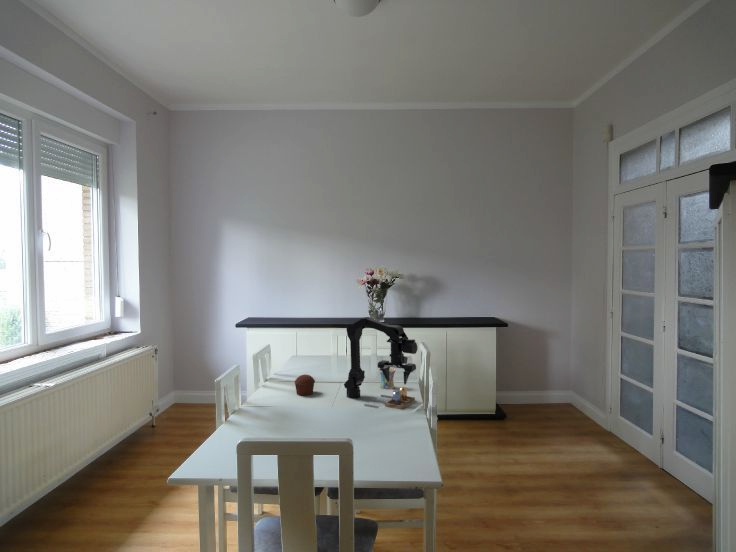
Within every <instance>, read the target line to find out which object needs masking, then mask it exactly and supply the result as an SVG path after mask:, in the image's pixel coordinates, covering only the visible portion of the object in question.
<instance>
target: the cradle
mask: <svg viewBox="0 0 736 552" xmlns="http://www.w3.org/2000/svg"><path fill="white" fill-rule="evenodd" d="M391 399H393V395H387V394H380V396H379V397H377V398H372V400H371V401H370V402H368V403H364V404H363V406H364V407H368V408H373V409H378V408H379V407H381V406H383V405H385V403H386V402H388V401H390V400H391Z"/></svg>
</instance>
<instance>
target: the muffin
mask: <svg viewBox="0 0 736 552" xmlns="http://www.w3.org/2000/svg"><path fill="white" fill-rule="evenodd" d="M315 383H316V380H315V378H314V377H313V376H311V375H310V374H302V375H301V374H300V375H299V376H297V377H296V378H295V380H294V385H295V391H296V395H298V396H301V397H306V396H311V395H313V393H314V387H315V386H314V385H315Z"/></svg>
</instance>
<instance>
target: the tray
mask: <svg viewBox="0 0 736 552" xmlns="http://www.w3.org/2000/svg"><path fill="white" fill-rule="evenodd" d="M415 401H416V397H414V396H408V395H407V401H404V400H400V405H396V404H393V399H391V400H389V401H388V402H386V403H384V408H391V409H396V410H403V409H404V408H406V407H407V406H409V405H411V404H413V402H415Z"/></svg>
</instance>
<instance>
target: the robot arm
mask: <svg viewBox="0 0 736 552" xmlns="http://www.w3.org/2000/svg"><path fill="white" fill-rule="evenodd" d="M366 327H369V328H371V329H374V330H376V331H379V332H381V333H383V334H385V335H386V336H387V337H388V339H387V340H386V343H390V353H389V357H390V361H389V360H384V359H382V360H380V361H377V368H379V369H380V370H382V372H383V374H384V375H385V378H386V380H387V382H389V369H390V368H394V369H403V370H404V371H403V384H404V385H407V382H408V379H409V377H410V374H411V373H413V372H414V371H416V370H417V365H416V364H415V363H409V362H408V360H409V359H408V356H405V354H411V355H416V353H417V352H418V343H417V342H416V339H414V338H413V339H409V337H408V336H407V334H406V333H405V330H404V327H403V326H401V325H399V324H389V323H385V322H383V321H380V320H376V319H373V318H370V317H369V316H367V317H366V316H365V317H362V318H361V319H359V320H357V321H356V322H353V323H350V324H348V325H347V326H346V334H347V338H348V339H349V341H350V342H349V344H350V347H349V348H350V370H349V372H348V376H347V377H348V378H347V380H346V381H345V382H344V383H343V386H344V388H345V389H346V398H348V399H350V400H351V399H353V400H354V399H360V398H361V389H360V386H362V383H363V382H364V380H365V379H366V375H365V372H366V371H365V370H362V367H361V347H360V346H361V343H360V340H361V338H362V335H363V330H364V329H366Z"/></svg>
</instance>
